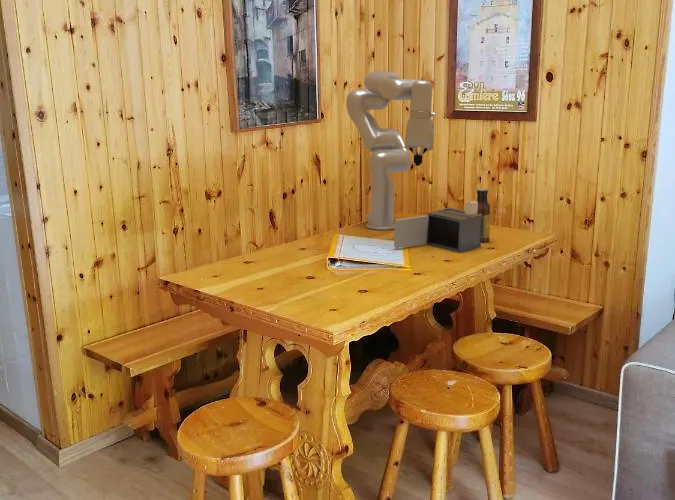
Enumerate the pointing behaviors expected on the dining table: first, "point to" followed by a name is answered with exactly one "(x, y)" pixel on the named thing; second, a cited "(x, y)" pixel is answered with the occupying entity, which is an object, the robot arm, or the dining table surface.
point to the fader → (471, 207)
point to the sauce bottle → (484, 213)
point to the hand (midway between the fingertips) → (417, 165)
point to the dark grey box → (454, 230)
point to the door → (411, 231)
